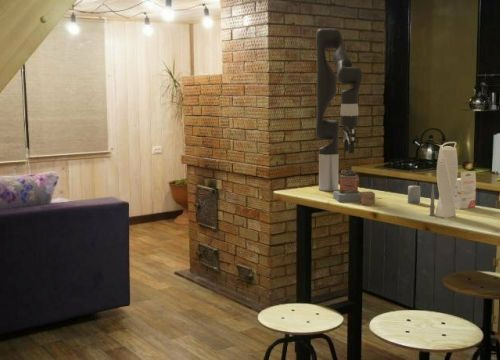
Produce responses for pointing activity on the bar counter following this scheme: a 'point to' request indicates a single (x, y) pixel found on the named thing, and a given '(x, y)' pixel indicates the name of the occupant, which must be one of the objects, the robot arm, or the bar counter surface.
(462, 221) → the bar counter surface
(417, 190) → the grey upright block
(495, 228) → the bar counter surface
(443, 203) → the skyscraper
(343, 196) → the block
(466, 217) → the bar counter surface
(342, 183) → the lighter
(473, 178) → the ink cartridge box
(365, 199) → the walnut block
